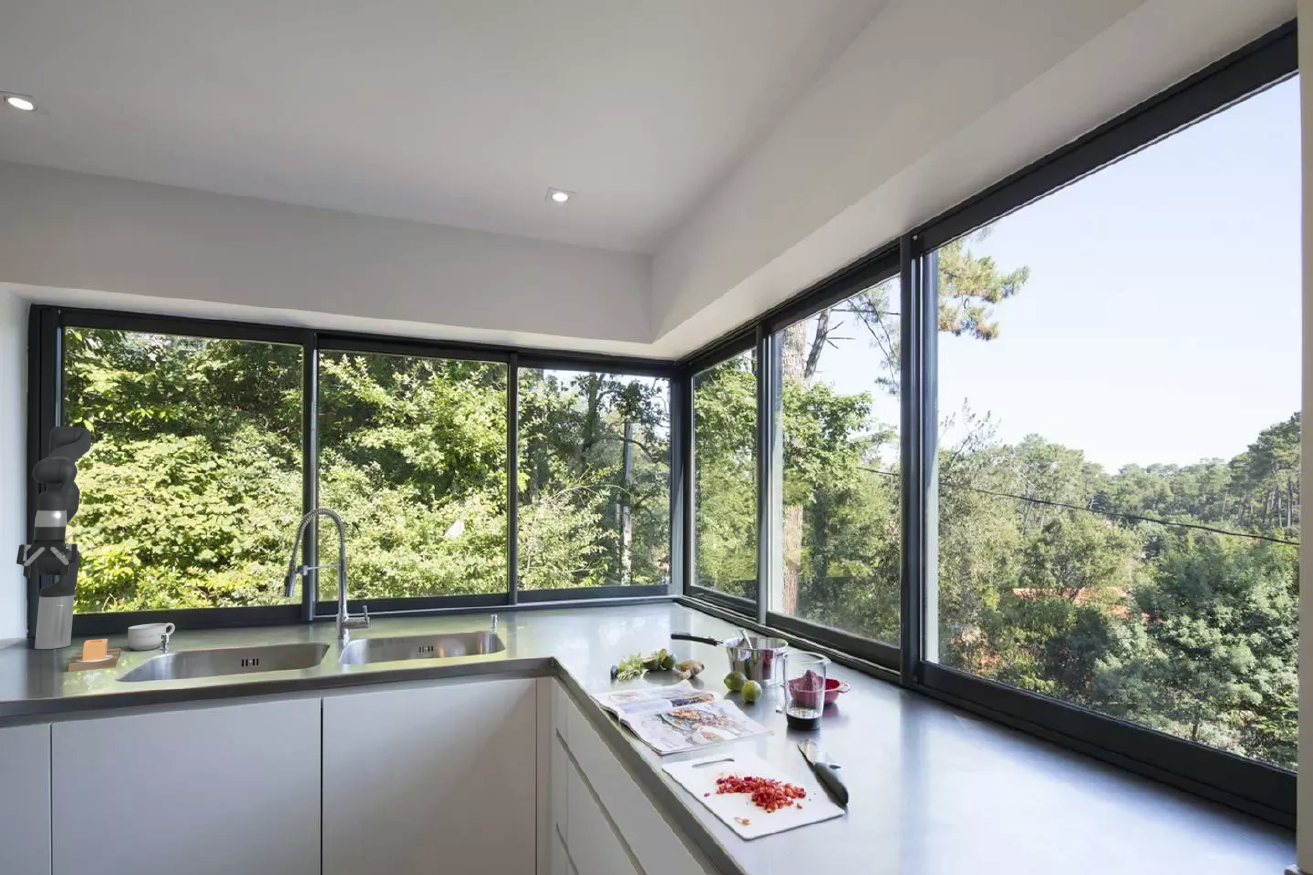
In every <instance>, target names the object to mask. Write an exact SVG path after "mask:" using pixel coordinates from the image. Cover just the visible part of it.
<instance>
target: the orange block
mask: <svg viewBox="0 0 1313 875" xmlns="http://www.w3.org/2000/svg"><path fill="white" fill-rule="evenodd" d="M108 640H109V639H108V638H101V639H100V638H99V639H89V640H85V642H84V643H83V650H82V651H83V660H82V661H92V660H103V659H105V657H106V653H107V649H108Z"/></svg>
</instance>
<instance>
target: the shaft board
mask: <svg viewBox="0 0 1313 875" xmlns="http://www.w3.org/2000/svg"><path fill="white" fill-rule="evenodd" d="M121 650H122V648H118V647H117V648H110V649H109V648H107V653H106V657H105V659H103V660H92V661H82V660H83V650H82V651H77V652H76V653H75V655H74V657H73V658H72V659H71V661H70V662H69V664H68V670H67V671H68V672H69V671H70V672H76V671H77V672H78V671H90V670H89V669H91V670H100V669H109V668H116V666H117V664H118V662H119V659H120V657H121V654H122V652H121Z"/></svg>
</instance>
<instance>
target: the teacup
mask: <svg viewBox="0 0 1313 875" xmlns="http://www.w3.org/2000/svg"><path fill="white" fill-rule="evenodd" d="M168 627H170V630H169V631H168V632H167V628H168ZM175 628H176V626H175V624H174V623H172V622H167V623H163V622H157V623H155V622H154V623H147V624H139V625H132V626H129V627H128V628H127V630H128V631H127V644H128V646H129V647H130V648H132V649H133V650H134V651H148V650H154V649H158V648H160V647H161V645H162V644H161V635H163V634H168V635H169V636H171V635H172V634H174V632H175ZM169 636H168V637H169ZM159 646H160V647H159ZM157 647H158V648H157Z"/></svg>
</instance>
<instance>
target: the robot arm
mask: <svg viewBox="0 0 1313 875" xmlns="http://www.w3.org/2000/svg"><path fill="white" fill-rule="evenodd" d="M91 434H92V433H91V431H90V430H89V429H88V428H87V427H86V428H84V427H75V426H60V425H59V426H58V425H57V426H54V427H52V429H51V430H50V433H49V438H48V439H49V440H48V441H49V442H48V456H46V457H45V458H42V459H41V460H39V461H38V462H37V463H35V465H34V467H33V470H32V473H31V474H32V478H33V480H34V481H35V482H37V483H39V484H46V485H45V486H46V487H45V491H42V492H40V493H39V495H38V499H37V507H36V508H37V510H36V515H35V520H34V530H33V539H32V540H33V541H32V544H24V543H23V544H19V545H18V551H17V556H16V561H15V562H16V564H17V565H21V566H23V574H22V576H23V577H25V579H30V578H31V571H32V565H31V564H32V563H33V562H34V561H35V571H36V572H37V574H38V575H40V576H60V577H59V580H58V581H56V582H55V583H52V584H49V585H45V586H43V587H41V588H40V589H39V595H38V596H39V597H38V608H37V609H38V610H37V619H36V620H37V621H36V632H35V640H34V641H35V642H34V649H35V650H52V649H60V648H61V649H62V648H65V647H69V646H71V639H72V627H73V619H74V618H73V616H74V608H75V607H74V604H75V595H76V594H75V592H76V587H77V585H78V584H77V583H78V578H79V577H78V576H79V570H80V562H81V561H80V560H81V555H80V551H79V550H78V543H76V542H75V543H66V535H67V525H68V524H69V523H70V522H71V521H72V520H73V518H74V517H75V515H76V514H77V513H78V510H79V506H80V497H81V495H80V494H81V493H80V488H79V487H78V485H77V483H76V482H75V480H76V477H77V475H78V467H77V466H76V462H77V461H78V460H80V458H82V457H83V456H84V455H85V454H87V452H88V451H89V450H90V447H91V443H92V435H91ZM30 549H31V551H32V552H33V554H32V555H31V556H30V557H29V558H28V559H27V560H24V557H25V553H26V552H28V550H30Z"/></svg>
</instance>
